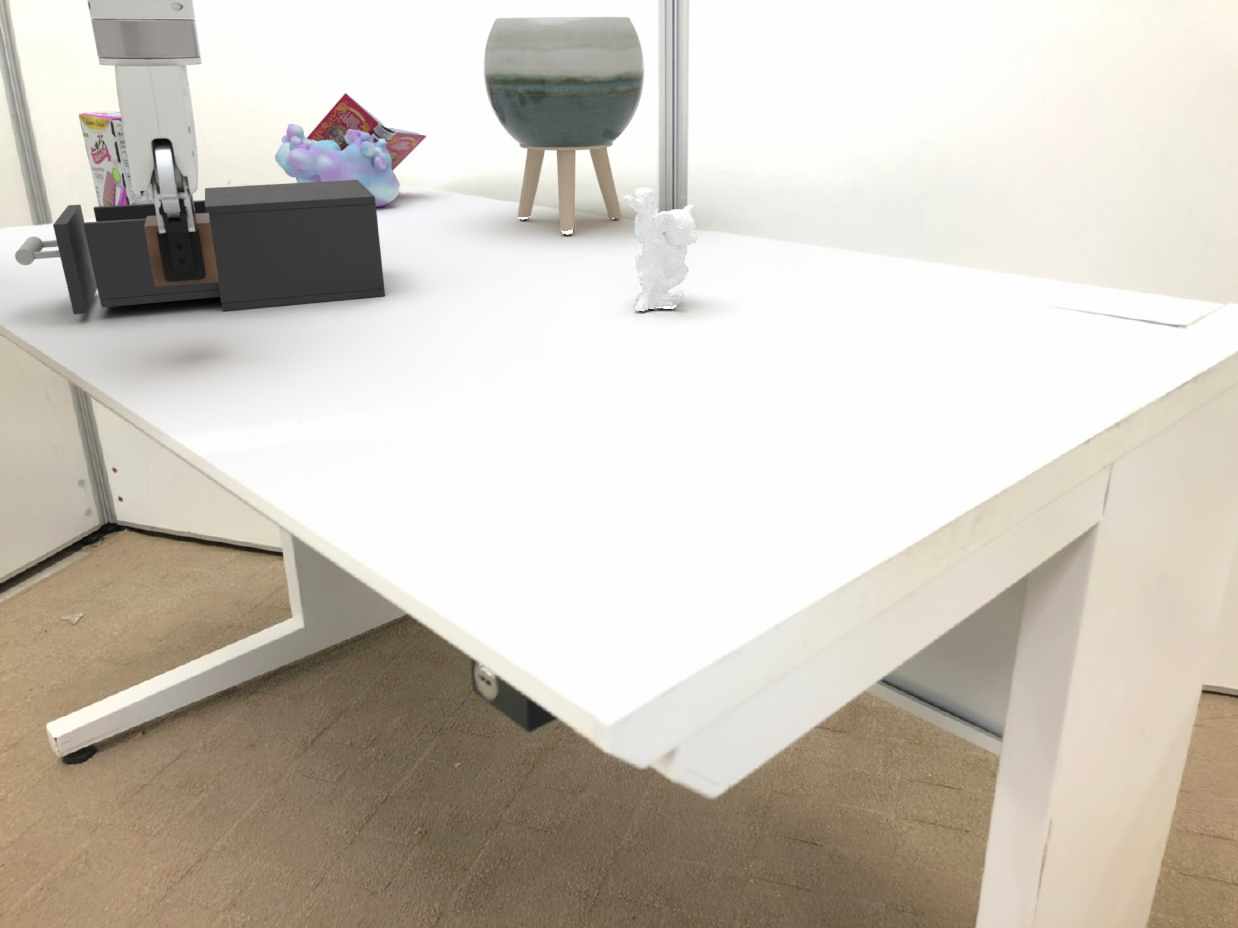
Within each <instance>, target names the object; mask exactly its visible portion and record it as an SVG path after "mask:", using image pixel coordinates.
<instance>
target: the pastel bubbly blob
mask: <svg viewBox="0 0 1238 928" xmlns="http://www.w3.org/2000/svg"><path fill="white" fill-rule="evenodd" d="M285 133H286V134H285V135H283V136H282V137H281V144H280V146H279V147H278V149H277V150H276V153H275V155H274V159H275V162H276V163H277V164H278V166H279V167H280V168H281V169H282V170H283V171H284V173H285V174H286V175H287V176H289V177H290V178H294V179H295V180H296V183H306V182H324V181H342V180H358V181H359V182H360V183H362V184H363V185H364V186H365V187H366V188H367V189H368V190H369V191H370V192H371V193H372V194H373V195H374V196H375V202H376V203H375V204H376V208H380V207H384V206H385V205H388V204H390V203H392V202H393V201H395V199H396V198H397V196H398V195H399V191H400V186H401V184H400V181H399V179H398V178H397V175H396V174H395V172H394V170H395V169H396V168H397V167H398V166H399V165H401V163H402V162H404V160H405V159H406V158H407V157H408V156H409V155H410V154H411V153H412V152H413V151H414V150H415V149H416V148H417V147H418V146H419V145H420V144H421V143H422V142H423V141H424V140H425V139H426V138H427V134H426V135H424V134H420V133H419V132H417V131H410V130H404V129H399V128H393V127H386V126H385V124H384V123H383V122H382V121H381V120H380V119H379V118H377V117H376V116H375V115H374V114H372V113H371V112H370V111H368V109H366V108H365V107H363V106H362V105H361V104H359V102H357V100H355V99H354V98H353V97H351V96H350V95H349V94H348V93H347V92H345V93H344V94H343V95H342V96H341V97H340V99H339V100H338V101H337V102H336V103H335V104H334V105H333V106H332V108H331V109H330V110H329V111H328V113H327V114H326V115H325V116H324V117H323V118H322V119H321V121H320V122H319V123H318V124H317V125H316V126H315V127H314V129H313V130H312V131H311V132H310V133H309V135H307V136H306V135H305V131H304V129H303V127H302V126H301V125H300V124H295V123H289V124H288V125H287V127H286V132H285Z"/></svg>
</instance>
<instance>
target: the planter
mask: <svg viewBox="0 0 1238 928" xmlns="http://www.w3.org/2000/svg"><path fill="white" fill-rule="evenodd" d="M483 79H484V86H485V91H486V94H487V99H488V102H489V105H490V107H491V109H492V112H493V113H494V116H495V117H496V119H497V120H498V123H500V125H501V127H502V128H503V129H504V130H505V132H506V133H507V134H508V135H509V136H511V138H512V139H513V140H514V141H516V142H517V143H518V144H519V147H520V148H522V149H526V158H525V165H524V171H523V177H522V185H521V191H520V197H519V203H518V211H517V218H518V217H529V216H532V211H533V208H534V203H535V199H536V195H537V190H538V186H539V182H540V178H541V173H542V167H543V164H544V163H543V162H544V158H545V152H546V151H554V152H555V151H556V169H557V189H558V192H557V193H558V211H559V212H558V214H559V215H558V216H559V231H560V230H562V231H568V230H572V229H574V230H575V221H576V219H575V215H576V214H575V213H576V212H575V211H576V157H577V156H576V151H587V150H588V151H589V154H590V158H591V162H592V165H593V169H594V173H595V176H596V180H597V183H598V186H599V190H600V193H601V196H602V199H603V203H604V206H605V208H606V212H607V216H608V218H609V219H610V218H614V219H617V220H619V219H621V218H622V213H621V207H620V202H619V198H618V194H617V189H616V186H615V185H616V184H615V181H614V176H613V172H612V167H611V162H610V158H609V152H608V148H610V147H613V145H614V142H615V141H616V140H617V139H618V138H619V137H620V136H621V135H622V134H623V133H624V132H625V131H626V130H627V128H628V126H629V125H630V124H631V122H632V120H633V118H634V116H635V114H636V112H637V111H638V107H639V105H640V102H641V98H642V94H643V90H644V84H645V83H644V82H645V59H644V53H643V49H642V45H641V41H640V38H639V34H638V32H637V30H636V27H635V26H634V24H633V22H632V20H631V19H630V17H629V16H552V17H551V16H548V17H547V16H546V17H545V16H544V17H543V16H541V17H538V16H537V17H499V18H498V17H497V18H495V20H494V22H493V23H492V26H491V28H490V31H489V33H488V36H487V39H486V44H485V48H484V54H483Z"/></svg>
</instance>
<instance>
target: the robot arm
mask: <svg viewBox="0 0 1238 928" xmlns="http://www.w3.org/2000/svg"><path fill="white" fill-rule="evenodd" d="M193 3H194V2H193V0H87V6H88V11H89V17H90V18H91V19H90V21H91V22H90V23H91V27H92V31H93V38H94V43H95V47H96V48H95V49H96V54H97V58H98V65H100V66H112V67H113V66H114V75H115V76H114V77H115V86H116V95H117V102H118V108H119V112H120V116H121V122H122V128H123V134H124V140H125V146H126V152H127V158H128V164H129V170H130V177H131V184H132V191H133V193H134V194H135V195H137V196H138V197H143V195H144V192H145V191H148V189H149V186H150V184H151V185H152V191H153V199H154V204H155V210H156V216H157V223H158V229H159V233H157V238H158V243H159V249H160V254H161V260H162V266H163V271H164V277H165V279H166V280H167V281H169V282H174V281H188V280H202V279H204V278H205V276H206V272H205V266H204V260H203V253H202V247H201V241H200V235H199V230H196V231H195V225H194V218H193V214H195V207H194V201H195V200H194V197H193V195H194V194H195V193H196V192H197V191H198V189H199V157H198V145H197V135H196V134H197V133H196V126H195V125H196V123H195V117H194V111H193V103H192V96H191V90H190V89H191V88H190V82H189V76H188V70H187V69H188V68H187V66H195V65H196V66H197V65H202V64H203V62H202V57H201V56H202V55H201V49H200V43H199V35H198V28H197V23H196V20H195V19H196V17H195V9H194V4H193ZM185 214H186V215H185ZM186 219H187V220H186Z"/></svg>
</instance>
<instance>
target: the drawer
mask: <svg viewBox="0 0 1238 928" xmlns="http://www.w3.org/2000/svg"><path fill="white" fill-rule="evenodd" d="M193 201H194V207H195V214H197V213H206V210H205V199H200V200H193ZM93 213H94V217H95V218H94V219H95V221H87V222H86V221H85V220H84V219H85V218H84V214H83V209H82V205H81V204H69V205H68V204H67V206H66V207H65V209H64V210H63V211H62V212H61V214H60V215H59V217H58V218H57V219H56V220H55V222H54V223H53V225H52V226H53V231H54V235H55V239H54V240H42V239H41V238H39V236H34V235H33V236H29V237H28V238H27V239H26V240H25V241H24V242H23V244H22V245H21V246H20V247H18V249H17V250H16V251H15V254H14V258H15V261H16V263H19V264H20V265H22V266H29V265H32V264H33V262H34V261H35V260H40V259H42V260H43V259H54V258H56V259H57V258H60V262H61V266H62V271H63V274H64V278H65V279H64V280H65V284H66V287H67V292H68V296H69V301H70V304H71V309H72V313H73V315H74V316H75V315H87V314H88V312H89V310H90V308H91V304H92V302H93V300H94V297H95V295H96V293H98V298H99V301H100V302H99V303H100V307H101V308H112V307H123V306H133V305H135V306H136V305H144V304H146V305H147V304H157V303H166V302H167V303H169V302H179V301H180V302H181V301H189V300H200V299H212V298H213V299H214V298H220V293H219V287H218V282H208V283H194V284H181V285H167V286H155V283H154V278H153V272H152V267H151V261H150V256H149V250H148V245H147V239H146V234H145V228H144V226H145V222H146V219H147V216H156V210H155V204H154V203H148V204H131V205H115V206H99V205H98V206H93ZM45 248H57V249H58V250H56V249H55V250H47V251H46V250H44V251H42V250H43V249H45Z"/></svg>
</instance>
